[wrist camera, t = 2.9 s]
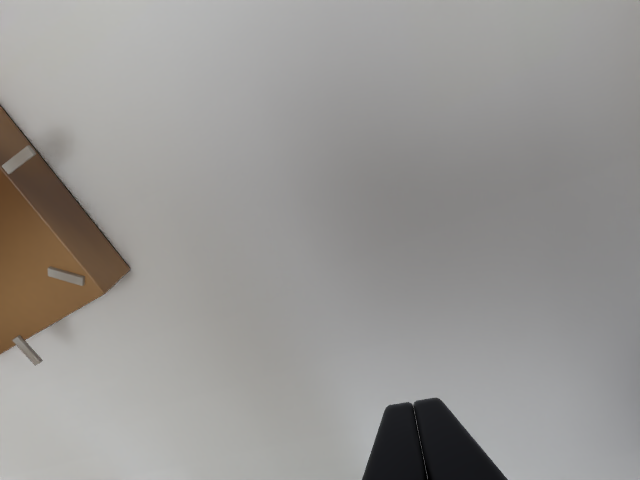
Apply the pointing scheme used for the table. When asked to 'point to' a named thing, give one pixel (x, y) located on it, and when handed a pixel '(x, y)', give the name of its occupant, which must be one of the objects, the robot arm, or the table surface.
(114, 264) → the brown piece
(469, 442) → the robot arm
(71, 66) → the table surface
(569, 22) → the table surface
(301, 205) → the table surface
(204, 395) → the table surface
